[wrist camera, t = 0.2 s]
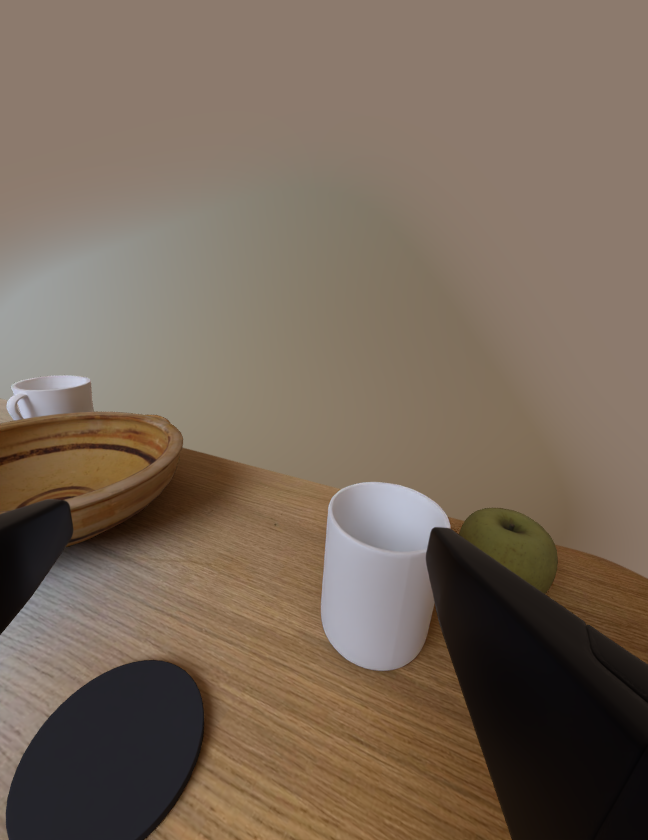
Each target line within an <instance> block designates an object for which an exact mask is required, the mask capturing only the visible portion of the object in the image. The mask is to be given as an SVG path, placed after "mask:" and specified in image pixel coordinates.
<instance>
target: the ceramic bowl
mask: <svg viewBox="0 0 648 840" xmlns="http://www.w3.org/2000/svg"><path fill="white" fill-rule="evenodd" d="M182 445H183V437H182V435H181V432H180V431H179V430H178V429H177V428H176V427H175V426H174V425H172V424H170V422H169V421H168V420H167V419H166V418H164V417H161V416H158V415H141V414H133V413H123V412H77V413H65V414H55V415H47V416H39V417H33V418H27V419H21V420H15V421H10V422H5V423H1V424H0V514H2V513H5V512H8V511H11V510H14V509H18V508H21V507H24V506H27V505H30V504H34V503H37V502H40V501H43V500H47V499H56V500H65V501H67V502H68V503H69V505H70V510H71V516H72V522H73V535H72V538H71V540H70V541H69V543H68V544H67V546H66V547H68V546H71V545H74V544H77V543H80V542H83V541H85V540H88V539H90V538H92V537H94V536H96V535H98V534H100V533H102V532H104V531H106V530H108V529H110V528H112V527H114V526H116V525H118V524H120V523H122V522H124V521H126V520H127V519H129V518H130V517H132V516H134V515H135V514H137V513H138V512H140V511H141V510H143V509H144V508H145V507H146V506H147V505H149V504H150V503H151V502H152V501H153V500H154V499H155V498H156V497H157V496H158V495H159V494H160V493H161V492H162V491H163V490H164V488H165V487H166V486H167V485H168V483H169V482H170V480H171V478H172V476H173V474H174V472H175V470H176V468H177V464H178V460H179V454H180V451H181V449H182Z"/></svg>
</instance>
